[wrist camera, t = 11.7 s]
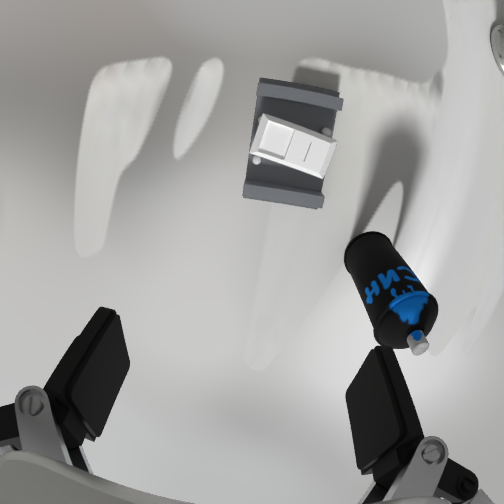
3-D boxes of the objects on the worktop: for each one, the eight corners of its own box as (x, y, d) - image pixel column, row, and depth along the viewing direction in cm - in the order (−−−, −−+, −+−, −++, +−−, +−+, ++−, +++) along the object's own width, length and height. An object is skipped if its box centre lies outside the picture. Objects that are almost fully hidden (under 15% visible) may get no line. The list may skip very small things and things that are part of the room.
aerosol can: (396, 267, 42) (452, 355, 24) (351, 285, 44) (387, 384, 26) (386, 222, 38) (456, 304, 21) (337, 242, 40) (379, 339, 23)
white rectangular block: (320, 175, 33) (324, 180, 31) (250, 151, 32) (248, 154, 30) (334, 139, 31) (339, 141, 29) (263, 113, 30) (262, 112, 28)
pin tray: (260, 78, 31) (259, 74, 27) (337, 93, 31) (344, 91, 28) (243, 195, 38) (241, 203, 35) (316, 207, 38) (320, 215, 35)
